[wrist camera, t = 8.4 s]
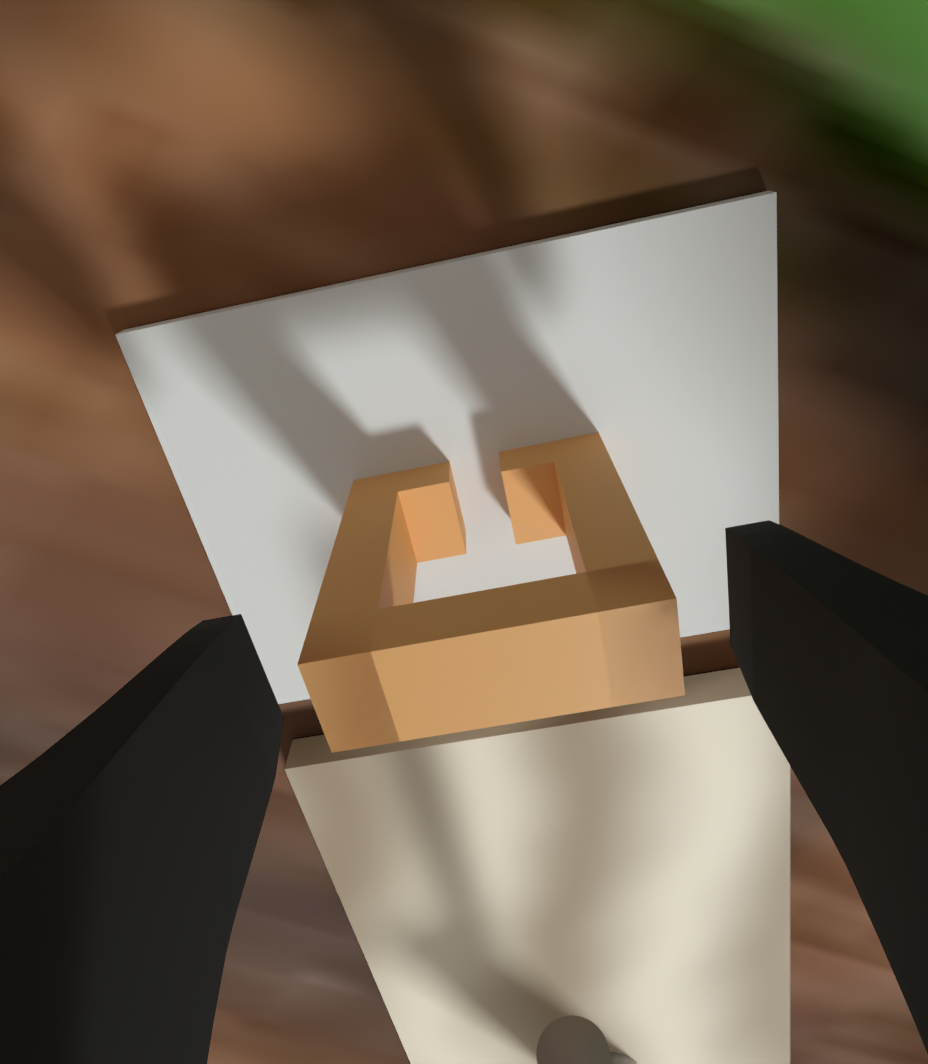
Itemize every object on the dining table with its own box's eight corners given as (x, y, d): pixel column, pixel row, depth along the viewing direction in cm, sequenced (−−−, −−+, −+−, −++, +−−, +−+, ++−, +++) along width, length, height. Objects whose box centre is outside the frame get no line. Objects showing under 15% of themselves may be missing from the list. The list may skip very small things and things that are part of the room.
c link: (598, 432, 15) (676, 598, 9) (607, 503, 16) (685, 694, 10) (353, 480, 15) (297, 664, 10) (373, 547, 16) (331, 752, 11)
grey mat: (767, 190, 13) (776, 192, 13) (773, 611, 17) (779, 621, 17) (123, 329, 14) (115, 334, 14) (274, 694, 18) (270, 705, 18)
